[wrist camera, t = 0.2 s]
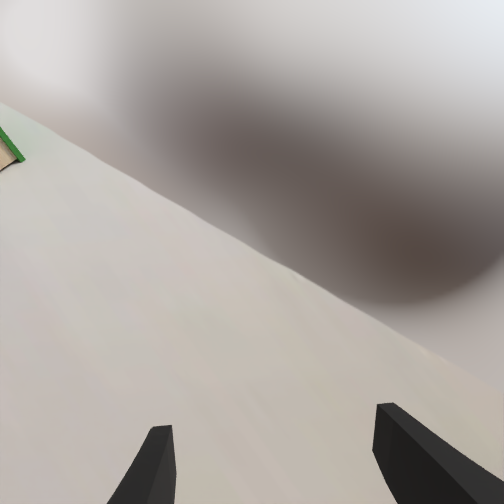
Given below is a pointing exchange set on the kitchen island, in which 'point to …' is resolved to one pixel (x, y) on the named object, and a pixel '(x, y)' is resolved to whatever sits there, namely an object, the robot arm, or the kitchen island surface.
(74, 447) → the kitchen island surface
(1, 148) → the hardback book
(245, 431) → the kitchen island surface
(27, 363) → the kitchen island surface
